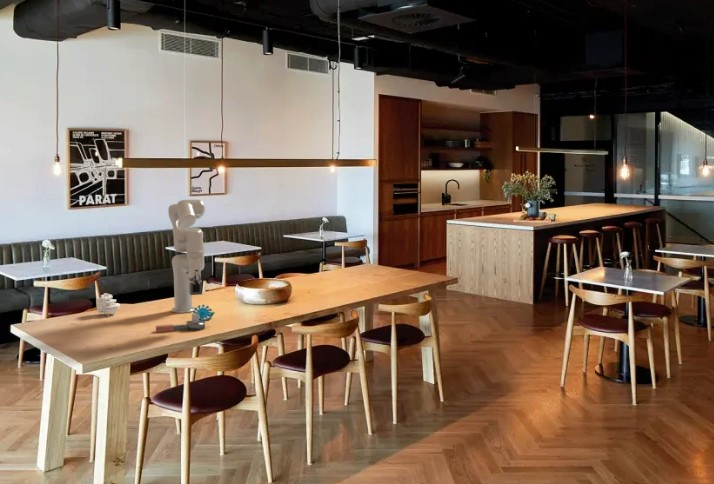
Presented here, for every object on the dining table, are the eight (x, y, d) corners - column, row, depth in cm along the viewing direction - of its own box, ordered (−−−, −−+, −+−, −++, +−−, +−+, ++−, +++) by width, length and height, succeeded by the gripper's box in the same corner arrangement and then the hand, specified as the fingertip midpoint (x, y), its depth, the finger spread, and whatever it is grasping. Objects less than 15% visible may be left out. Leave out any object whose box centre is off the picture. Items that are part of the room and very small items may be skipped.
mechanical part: (121, 315, 348) (120, 294, 347) (97, 317, 343) (96, 296, 341) (119, 311, 358) (118, 290, 357) (96, 313, 353) (95, 292, 352)
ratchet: (155, 329, 319) (154, 315, 319) (203, 325, 328) (203, 312, 328) (157, 334, 311) (156, 319, 310) (206, 329, 320) (206, 316, 319)
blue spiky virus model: (193, 319, 336) (194, 302, 342) (191, 325, 340) (192, 309, 346) (214, 320, 339) (215, 304, 345) (213, 326, 343) (213, 310, 349)
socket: (188, 293, 322) (188, 277, 321) (200, 292, 324) (200, 276, 323) (190, 295, 317) (190, 279, 316) (202, 294, 319) (201, 278, 318)
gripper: (184, 253, 325) (185, 288, 327) (189, 257, 309) (190, 294, 311) (199, 252, 328) (200, 287, 330) (205, 256, 312) (206, 293, 314)
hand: (195, 290), depth 320 cm, fingers closed on socket, 5 cm apart
